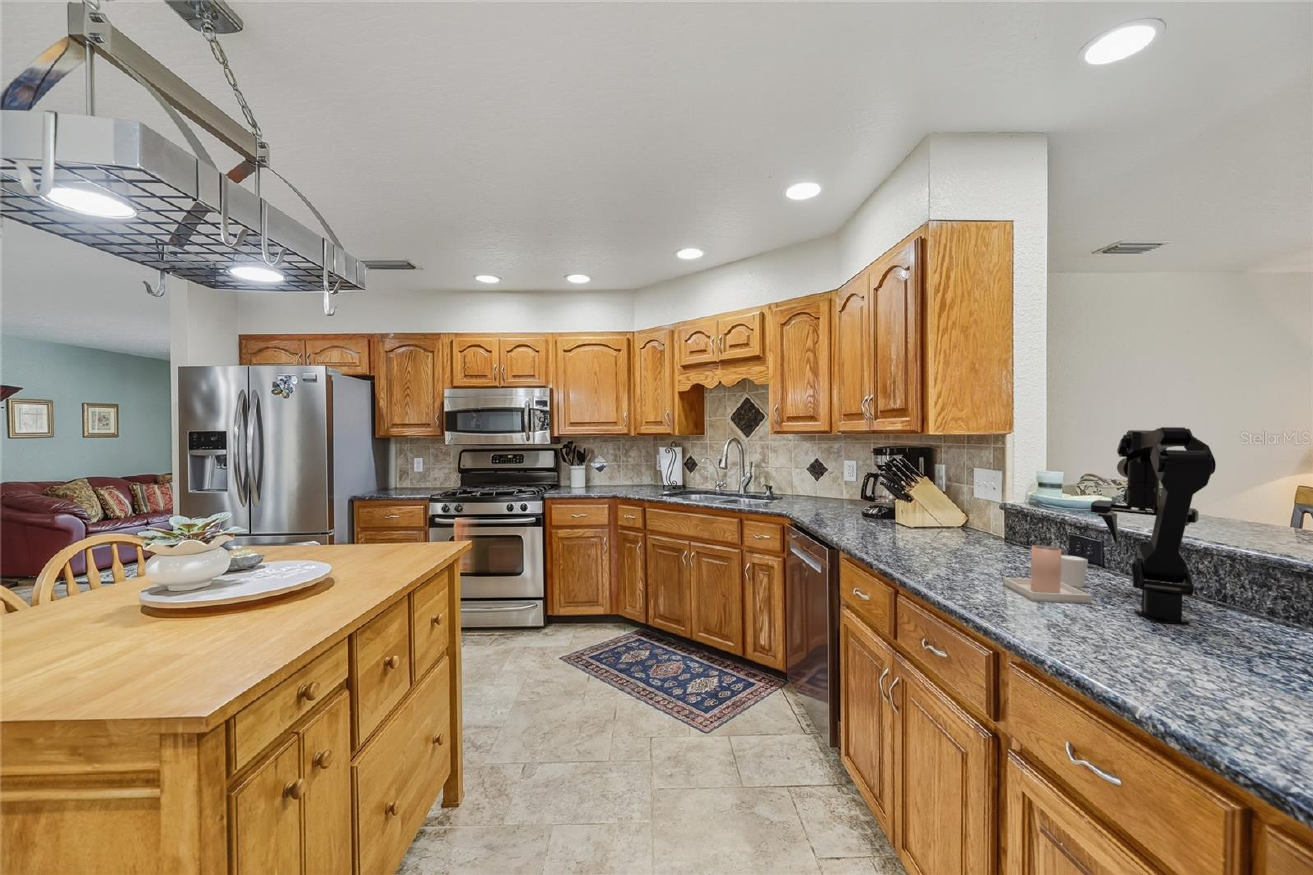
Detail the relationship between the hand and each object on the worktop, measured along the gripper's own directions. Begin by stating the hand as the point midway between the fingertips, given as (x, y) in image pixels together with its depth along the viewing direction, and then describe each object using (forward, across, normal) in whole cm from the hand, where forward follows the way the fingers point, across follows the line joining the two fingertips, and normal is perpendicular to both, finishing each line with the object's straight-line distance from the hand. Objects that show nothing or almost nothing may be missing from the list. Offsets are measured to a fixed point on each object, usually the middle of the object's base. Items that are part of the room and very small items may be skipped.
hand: (1141, 546), depth 129 cm
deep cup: (+12, +16, +14) cm, 24 cm away
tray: (+13, +16, +14) cm, 25 cm away
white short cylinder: (+13, +14, -3) cm, 20 cm away
